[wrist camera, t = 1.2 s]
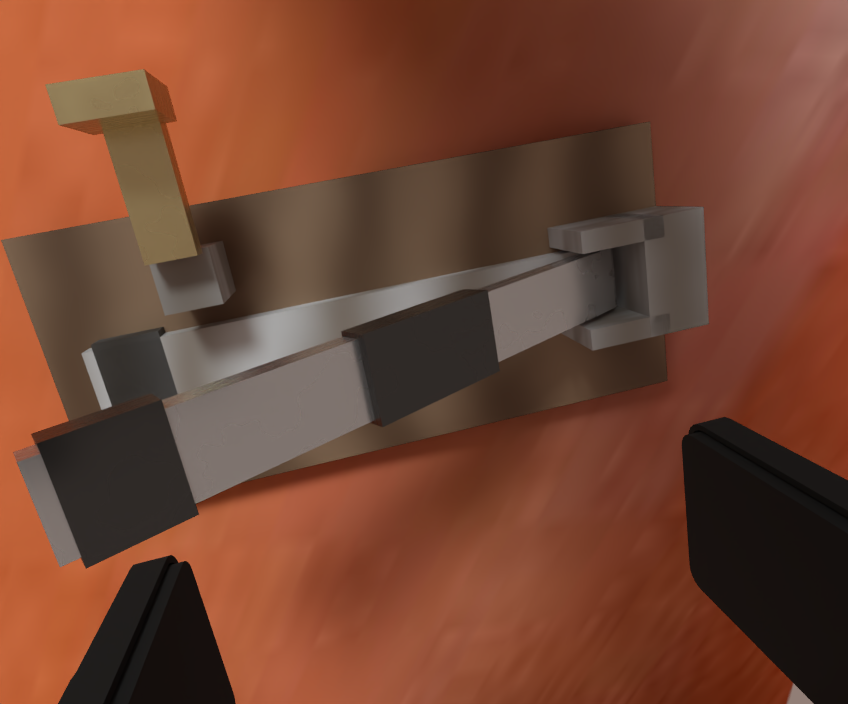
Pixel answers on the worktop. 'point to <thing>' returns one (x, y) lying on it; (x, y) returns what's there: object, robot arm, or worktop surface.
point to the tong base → (376, 281)
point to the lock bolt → (136, 154)
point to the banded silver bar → (288, 407)
